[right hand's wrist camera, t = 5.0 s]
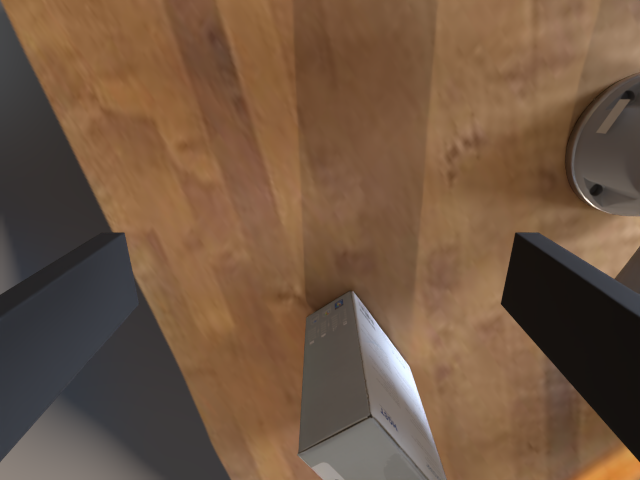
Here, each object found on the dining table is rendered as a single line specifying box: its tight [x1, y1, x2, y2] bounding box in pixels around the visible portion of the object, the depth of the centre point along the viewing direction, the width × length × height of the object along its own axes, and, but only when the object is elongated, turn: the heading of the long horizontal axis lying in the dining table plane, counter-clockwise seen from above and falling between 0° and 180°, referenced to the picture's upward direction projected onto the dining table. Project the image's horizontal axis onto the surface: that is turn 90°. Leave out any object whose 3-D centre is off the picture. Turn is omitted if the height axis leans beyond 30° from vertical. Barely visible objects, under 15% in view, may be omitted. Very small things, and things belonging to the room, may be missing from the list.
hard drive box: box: [297, 291, 447, 480], centre depth 41 cm, size 16×8×20 cm, turn 35°
